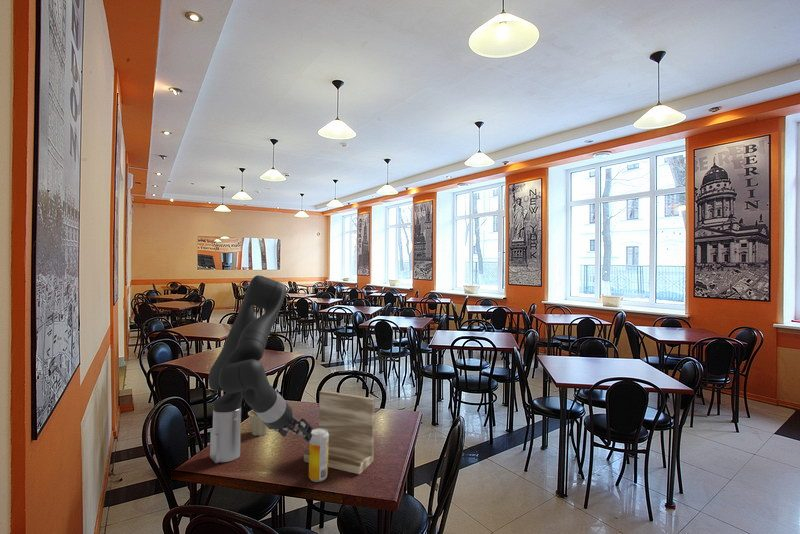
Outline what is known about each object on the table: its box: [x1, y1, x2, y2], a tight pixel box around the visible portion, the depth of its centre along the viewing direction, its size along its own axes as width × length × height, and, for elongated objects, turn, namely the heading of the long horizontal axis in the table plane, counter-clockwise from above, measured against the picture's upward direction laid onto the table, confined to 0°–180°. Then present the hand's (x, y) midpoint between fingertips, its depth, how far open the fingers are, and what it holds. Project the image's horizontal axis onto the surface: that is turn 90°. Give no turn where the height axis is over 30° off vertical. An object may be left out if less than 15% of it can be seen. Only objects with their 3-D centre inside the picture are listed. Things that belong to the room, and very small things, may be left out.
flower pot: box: [247, 409, 269, 437], centre depth 167 cm, size 9×9×9 cm
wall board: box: [303, 390, 376, 475], centre depth 144 cm, size 11×22×22 cm, turn 68°
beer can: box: [308, 427, 329, 483], centre depth 132 cm, size 6×6×15 cm
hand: (297, 436), depth 121 cm, fingers open, 8 cm apart
